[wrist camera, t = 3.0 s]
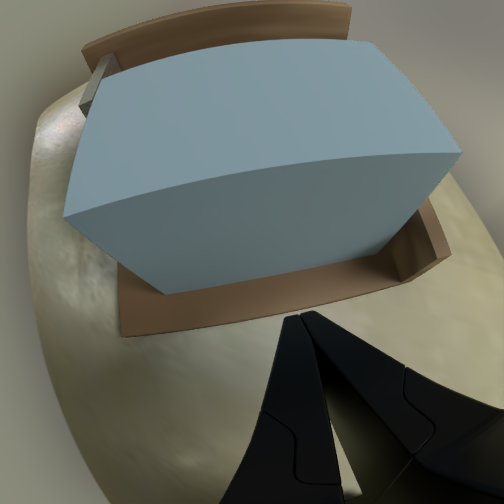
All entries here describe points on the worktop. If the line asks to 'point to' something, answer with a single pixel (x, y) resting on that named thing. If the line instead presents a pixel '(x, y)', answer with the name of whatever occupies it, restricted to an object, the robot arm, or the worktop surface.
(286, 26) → the shelf
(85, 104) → the bookend
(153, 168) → the light blue block
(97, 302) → the worktop surface
